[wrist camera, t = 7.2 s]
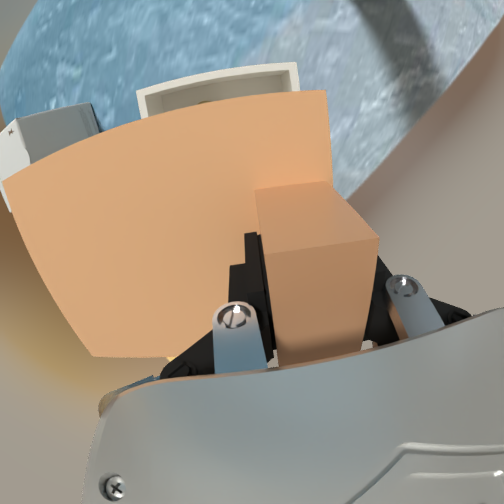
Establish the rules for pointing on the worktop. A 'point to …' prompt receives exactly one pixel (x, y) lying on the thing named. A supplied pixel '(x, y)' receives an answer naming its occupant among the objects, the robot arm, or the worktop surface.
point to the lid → (199, 228)
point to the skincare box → (43, 137)
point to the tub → (218, 87)
